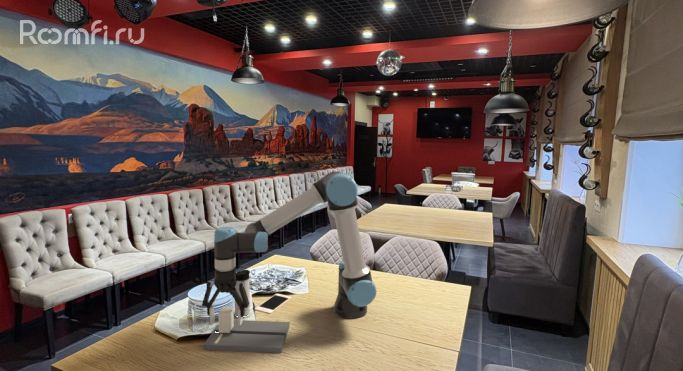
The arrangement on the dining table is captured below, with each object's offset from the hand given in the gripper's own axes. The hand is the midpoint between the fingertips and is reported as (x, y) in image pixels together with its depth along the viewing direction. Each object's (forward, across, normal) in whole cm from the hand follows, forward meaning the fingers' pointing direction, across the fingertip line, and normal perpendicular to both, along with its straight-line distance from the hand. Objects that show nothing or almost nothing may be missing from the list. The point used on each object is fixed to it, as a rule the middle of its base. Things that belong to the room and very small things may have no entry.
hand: (226, 323), depth 133 cm
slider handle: (+5, 0, 0) cm, 5 cm away
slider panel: (+5, -9, 0) cm, 10 cm away
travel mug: (+5, -1, -17) cm, 18 cm away
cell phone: (+6, -12, -29) cm, 32 cm away
